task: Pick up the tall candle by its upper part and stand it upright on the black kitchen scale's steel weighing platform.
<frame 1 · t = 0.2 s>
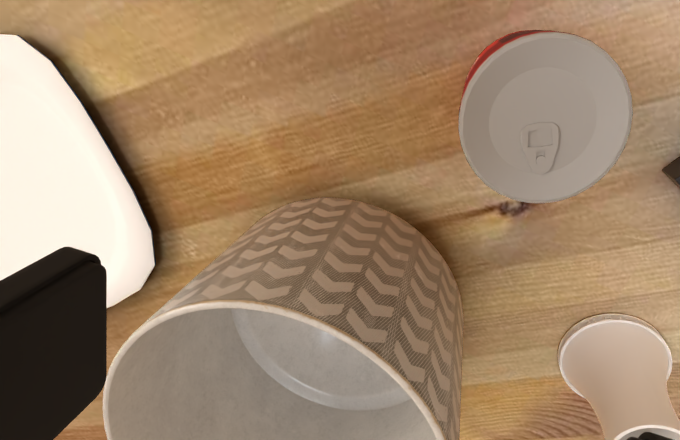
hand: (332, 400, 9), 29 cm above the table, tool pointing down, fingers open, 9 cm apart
plate: (24, 195, 47), on the table
planter: (347, 292, 42), on the table
canned food: (522, 93, 33), on the table
vase: (610, 354, 38), on the table
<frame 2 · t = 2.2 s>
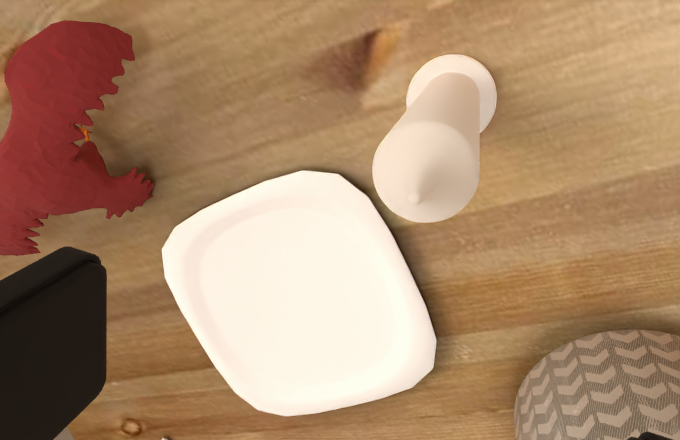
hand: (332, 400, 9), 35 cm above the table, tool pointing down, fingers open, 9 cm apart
plate: (298, 298, 51), on the table
candle: (451, 99, 41), on the table
decorative bird sculpture: (106, 157, 51), on the table
planter: (619, 397, 46), on the table
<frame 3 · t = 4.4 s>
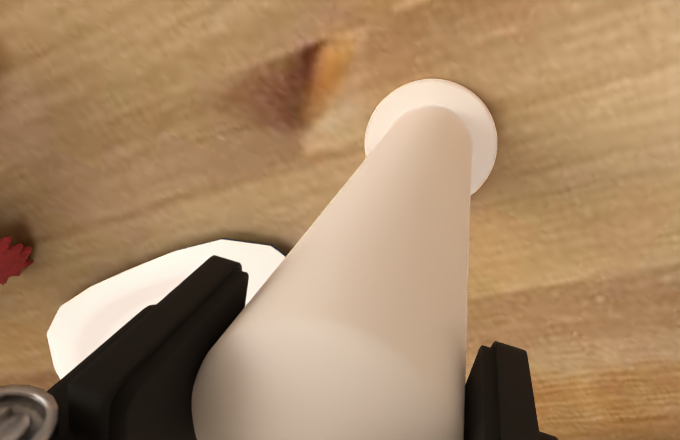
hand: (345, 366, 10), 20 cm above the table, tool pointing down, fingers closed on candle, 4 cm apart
plate: (230, 399, 38), on the table
candle: (430, 143, 28), on the table, touching gripper
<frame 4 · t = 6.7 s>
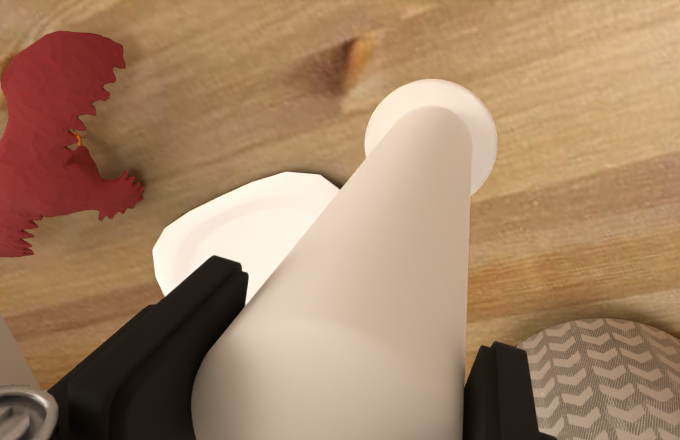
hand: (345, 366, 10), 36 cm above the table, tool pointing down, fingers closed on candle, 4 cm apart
plate: (284, 296, 54), on the table
candle: (430, 144, 28), point 16 cm above the table, touching gripper
decorative bird sculpture: (98, 161, 53), on the table
planter: (590, 385, 49), on the table
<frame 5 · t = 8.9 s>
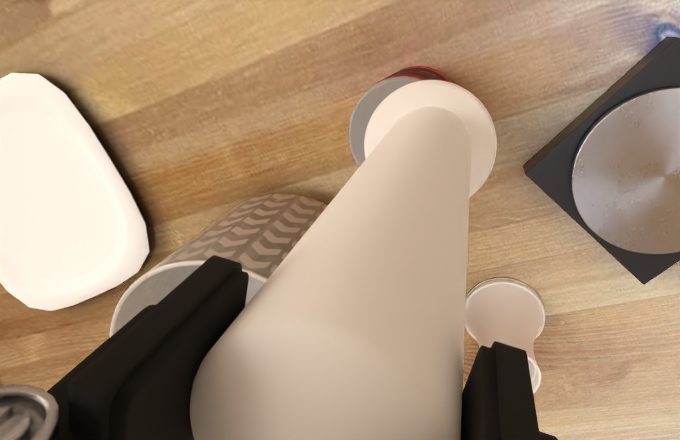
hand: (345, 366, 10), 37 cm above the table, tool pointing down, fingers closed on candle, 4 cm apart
plate: (44, 198, 58), on the table
scale: (650, 164, 41), on the table
candle: (429, 145, 28), point 17 cm above the table, touching gripper
planter: (301, 269, 53), on the table
canned food: (418, 111, 44), on the table
vase: (502, 310, 49), on the table
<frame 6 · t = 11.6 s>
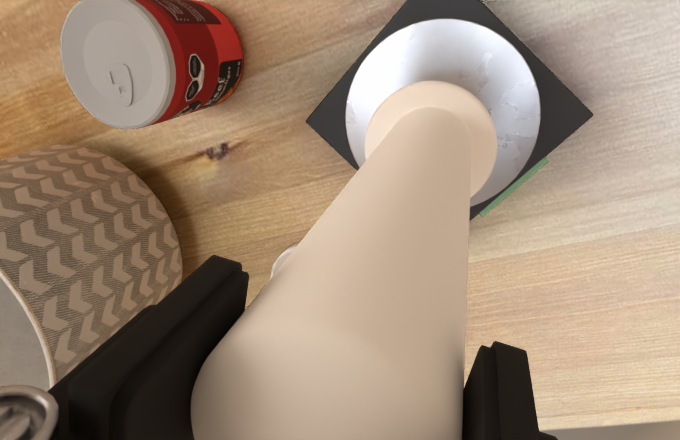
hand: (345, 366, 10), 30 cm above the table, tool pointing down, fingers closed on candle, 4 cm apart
scale: (441, 113, 37), on the table
candle: (429, 145, 28), point 10 cm above the table, touching gripper
planter: (112, 232, 49), on the table
canned food: (204, 54, 40), on the table
when the fingers open (23 cm above the table, at t = 13.5 s): candle stays where it is, resting on scale.
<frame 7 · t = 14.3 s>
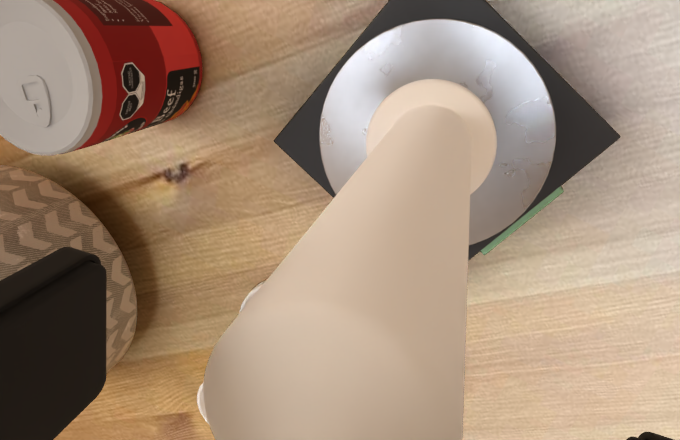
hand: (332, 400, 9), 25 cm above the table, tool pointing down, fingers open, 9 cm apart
scale: (435, 131, 31), on the table
candle: (430, 143, 28), point 3 cm above the table, touching scale
planter: (62, 262, 43), on the table
canned food: (157, 61, 34), on the table
vase: (290, 319, 39), on the table
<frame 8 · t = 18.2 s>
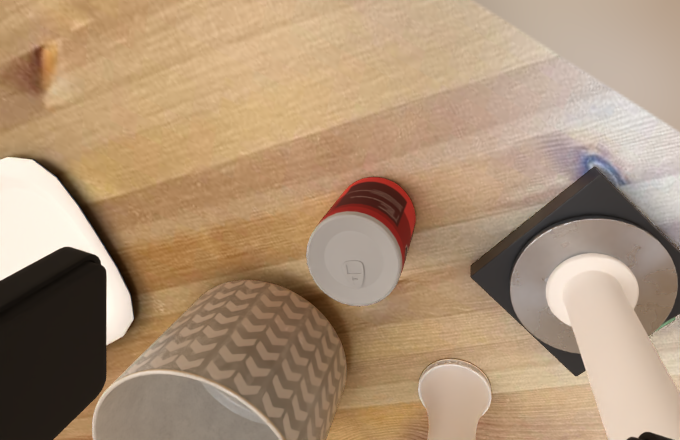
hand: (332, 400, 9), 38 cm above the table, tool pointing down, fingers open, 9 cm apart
plate: (37, 264, 63), on the table
scale: (582, 271, 46), on the table
candle: (589, 289, 43), point 3 cm above the table, touching scale
planter: (273, 340, 58), on the table
canned food: (377, 213, 49), on the table
vase: (454, 386, 54), on the table
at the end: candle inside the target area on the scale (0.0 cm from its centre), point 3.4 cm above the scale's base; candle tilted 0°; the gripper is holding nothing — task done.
